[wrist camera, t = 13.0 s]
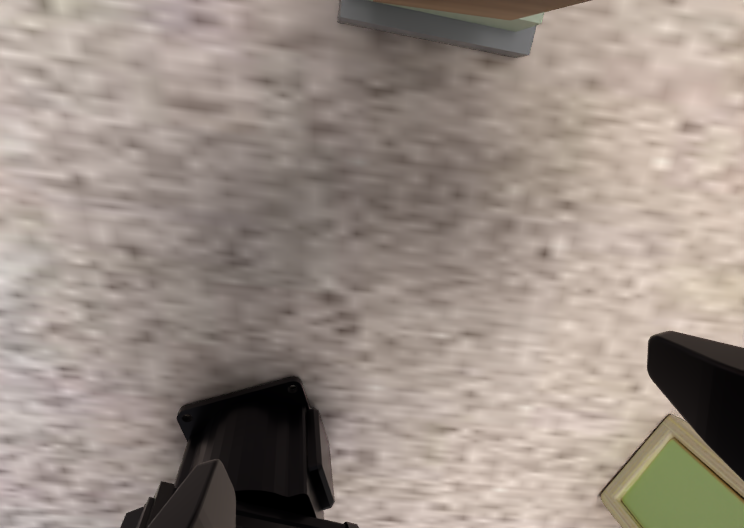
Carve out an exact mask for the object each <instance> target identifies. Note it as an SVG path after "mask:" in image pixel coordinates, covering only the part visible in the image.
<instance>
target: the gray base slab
mask: <svg viewBox="0 0 744 528" xmlns="http://www.w3.org/2000/svg"><path fill="white" fill-rule="evenodd" d="M337 22H340V23H345V24H350V25H355V26H360V27H365V28H370V29H375V30H380V31H385V32H390V33H395V34H400V35H405V36H410V37H415V38H420V39H425V40H430V41H435V42H440V43H445V44H450V45H455V46H460V47H465V48H470V49H475V50H481V51H486V52H491V53H496V54H501V55H506V56H511V57H516V58H517V57H522V56H527V55H529V54H530V50H531V46H532V42H533V38H534V34H535V30H536V26H537V25H536V26H533V27H530V28H527V29H524V30H520V31H517V32H513V31H508V30H504V29H499V28H494V27H490V26H485V25H480V24H476V23H471V22H466V21H462V20H457V19H452V18H448V17H443V16H438V15H434V14H429V13H424V12H420V11H415V10H410V9H406V8H401V7H396V6H392V5H387V4H382V3H377V2H373V1H368V0H340V3H339V12H338V21H337Z"/></svg>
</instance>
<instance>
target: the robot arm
mask: <svg viewBox="0 0 744 528" xmlns="http://www.w3.org/2000/svg"><path fill="white" fill-rule="evenodd" d="M647 370H648V373H649V376H650V378H651V379H652V381H653V382H654V383H655V384H656V385H657V387H658V388H659V389H660V390H661V391H662V393H663V394H664V395H665V396H666V397H667V398H668V400H669V401H670V402H671V403H672V404H673V406H674V407H675V408H676V409H677V410H678V412H679V413H680V414H681V415H682V416H683V418H684V419H685V420H686V421H687V422H688V423H689V425H690V426H691V427H692V428H693V429H694V431H695V432H696V433H697V434H698V435H699V436H700V437H701V439H702V440H703V441H704V442H705V443H706V444H707V445H708V446H709V447H710V448H711V449H712V450H713V451H714V452H715V453H716V454H717V455H718V456H719V457H720V458H721V459H722V460H723V461H724V462H725V463H726V464H727V465H728V466H729V467H730V468H731V469H732V470H733V471H734V472H735V473H736V474H737V475H738V476H739V477H740V478H741V479H742V480H743V481H744V348H742V347H737V346H733V345H729V344H725V343H721V342H716V341H712V340H708V339H704V338H700V337H695V336H691V335H687V334H683V333H679V332H674V331H666V332H663V333H659V334H655V335H653V336H651V337H650V339H649V341H648V357H647ZM291 385H295V386H296V388H294V389H291V388H289V386H291ZM185 414H189V415H191V417H187V416H185ZM177 421H178V423H179V425H180V427H181V429H182V431H183V433H184V435H185V438H186V440H187V442H188V443H187V446H186V449H185V452H184V456H183V459H182V462H181V465H180V468H179V471H178V474H177V477H176V480H175V484H171V483H167V482H162V481H161V483H160V485H159V487H158V489H157V492H156V494H155V496H154V498H151V497H149V499H148V501H147V503H146V504H145V506H144V507H141V508H139V509H136V510H134V511H131V512H128V513H126V516H125V518H124V520H123V523H122V525H121V527H120V528H359V527H358V525H357V524H354V523H349V522H345V523H344V524H342V523H337V522H333V521H328V520H324V512H323V510H325V509H329V508H331V507H332V506H333V504H334V502H335V501H334V490H333V480H332V469H331V459H330V448H329V442H328V439H327V436H326V432H325V429H324V426H323V423H322V420H321V417H320V414H319V411H318V410H316V409H315V408H312V409H311V408H310V405H309V402H308V399H307V396H306V393H305V390H304V387H303V384H302V381H301V380H300V379H299V378H297V377H289V378H285V379H281V380H278V381H274V382H270V383H266V384H263V385H259V386H255V387H252V388H248V389H244V390H241V391H237V392H233V393H230V394H226V395H222V396H219V397H215V398H211V399H207V400H204V401H200V402H196V403H193V404H189V405H185V406H183V407H182V408H181V409H180V410H179V413H178V416H177Z"/></svg>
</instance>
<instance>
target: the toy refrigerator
mask: <svg viewBox="0 0 744 528" xmlns="http://www.w3.org/2000/svg"><path fill="white" fill-rule="evenodd" d="M601 500H602V502H603V504H604V505H605V506H606V508H607V509H608V510H609V511H610V513H611V514H612V515H613V517H614V518H615V519H616V520H617V522H618V523H619V524H620V526H621V527H622V528H744V481H743V480H742V479H741V478H740V477H739V476H738V475H737V474H736V473H735V472H734V471H733V470H732V469H731V468H730V467H729V466H728V465H727V464H726V463H725V462H724V461H723V460H722V459H721V458H720V457H719V456H718V455H717V454H716V453H715V452H714V451H713V450H712V449H711V448H710V447H709V446H708V445H707V444H706V443H705V442H704V441H703V440H702V439H701V437H700V436H699V435H698V434H697V433H696V432H695V431H694V429H693V428H692V427H691V426H690V425H689V423H688V422H686V421H684V420H682V419H680V418H678V417H676V416H674V415H669V416H668V417H667V418H666V419H665V420H664V421H663V422H662V423H661V424H660V426H659V427H658V428H657V429H656V430H655V432H654V433H653V434H652V435H651V436H650V437H649V439H648V440H647V441H646V442H645V443H644V445H643V446H642V447H641V448H640V449H639V450H638V452H637V453H636V454H635V455H634V456H633V458H632V459H631V460H630V461H629V462H628V463H627V465H626V466H625V467H624V468H623V469H622V471H621V472H620V473H619V474H618V475H617V476H616V478H615V479H614V480H613V481H612V482H611V483H610V484H609V486H608V487H607V488H606V489H605V490H604V491H603V493H602V494H601Z"/></svg>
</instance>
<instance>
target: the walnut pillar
mask: <svg viewBox="0 0 744 528" xmlns="http://www.w3.org/2000/svg"><path fill="white" fill-rule="evenodd" d="M587 1H591V0H373V2H379V3H387V4H394V5H401V6H408V7H416V8H423V9H430V10H437V11H445V12H452V13H459V14H466V15H474V16H481V17H488V18H495V19H503V20H510V21H511V20H515V19H519V18H523V17H527V16H531V15H535V14H539V13H543V12H547V11H551V10H555V9H559V8H563V7H567V6H571V5H575V4H579V3H583V2H587Z"/></svg>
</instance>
